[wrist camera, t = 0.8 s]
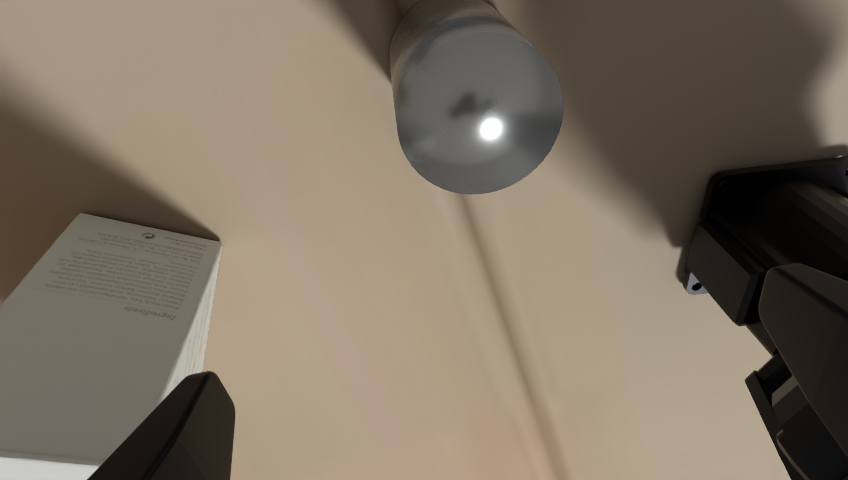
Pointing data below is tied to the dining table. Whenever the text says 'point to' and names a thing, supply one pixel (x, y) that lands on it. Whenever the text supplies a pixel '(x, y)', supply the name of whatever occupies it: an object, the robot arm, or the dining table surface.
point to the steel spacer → (471, 96)
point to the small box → (98, 342)
